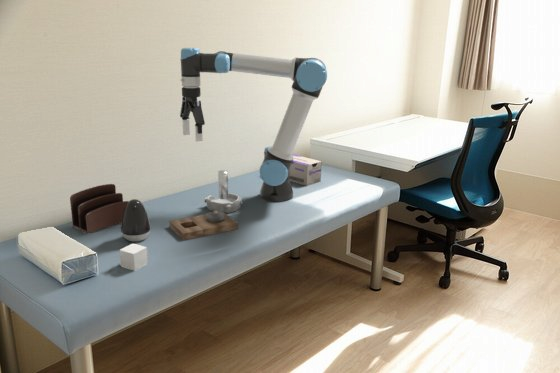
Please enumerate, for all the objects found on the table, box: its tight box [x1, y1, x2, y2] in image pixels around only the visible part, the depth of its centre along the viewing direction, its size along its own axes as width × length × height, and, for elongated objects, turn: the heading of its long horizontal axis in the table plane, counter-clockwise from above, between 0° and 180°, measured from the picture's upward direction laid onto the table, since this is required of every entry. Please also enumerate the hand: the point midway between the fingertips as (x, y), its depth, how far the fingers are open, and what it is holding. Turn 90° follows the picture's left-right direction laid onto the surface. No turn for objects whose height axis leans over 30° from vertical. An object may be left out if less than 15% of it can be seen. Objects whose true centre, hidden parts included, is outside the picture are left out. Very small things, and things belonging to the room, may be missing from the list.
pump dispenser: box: [120, 198, 152, 243], centre depth 186 cm, size 10×10×15 cm
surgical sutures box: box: [290, 153, 322, 187], centre depth 264 cm, size 25×11×11 cm, turn 47°
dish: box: [203, 192, 243, 214], centre depth 221 cm, size 14×14×5 cm
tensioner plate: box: [168, 211, 239, 241], centre depth 198 cm, size 22×14×6 cm, turn 122°
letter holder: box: [69, 183, 130, 235], centre depth 200 cm, size 10×20×14 cm, turn 143°
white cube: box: [119, 242, 149, 272], centre depth 168 cm, size 6×6×6 cm
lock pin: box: [217, 169, 229, 199], centre depth 218 cm, size 4×4×12 cm
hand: (192, 137), depth 219 cm, fingers open, 13 cm apart
